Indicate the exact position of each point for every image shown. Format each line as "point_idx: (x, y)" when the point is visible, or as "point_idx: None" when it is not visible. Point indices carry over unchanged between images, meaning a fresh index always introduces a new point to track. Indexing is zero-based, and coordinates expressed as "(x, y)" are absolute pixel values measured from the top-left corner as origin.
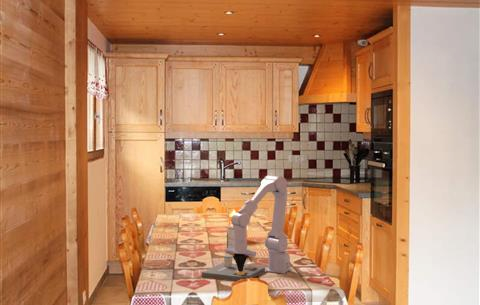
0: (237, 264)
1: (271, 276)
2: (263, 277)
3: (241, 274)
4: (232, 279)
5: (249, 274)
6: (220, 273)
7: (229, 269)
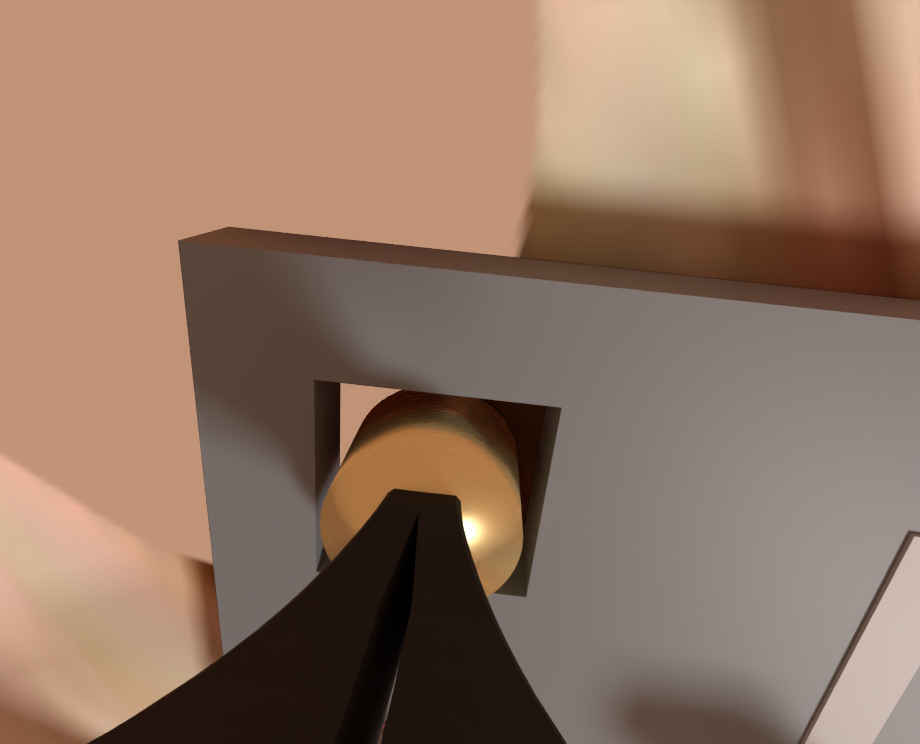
0: (453, 601)
1: (74, 638)
2: (138, 574)
3: (375, 430)
4: (525, 260)
5: (245, 491)
6: (874, 400)
7: (736, 687)
